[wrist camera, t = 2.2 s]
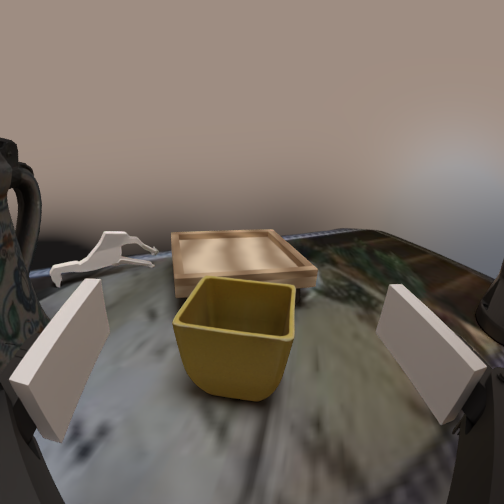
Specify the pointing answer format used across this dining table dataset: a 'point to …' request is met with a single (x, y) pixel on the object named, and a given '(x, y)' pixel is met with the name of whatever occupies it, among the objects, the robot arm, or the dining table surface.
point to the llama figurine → (103, 256)
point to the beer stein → (18, 255)
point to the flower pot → (236, 336)
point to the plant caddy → (238, 259)
